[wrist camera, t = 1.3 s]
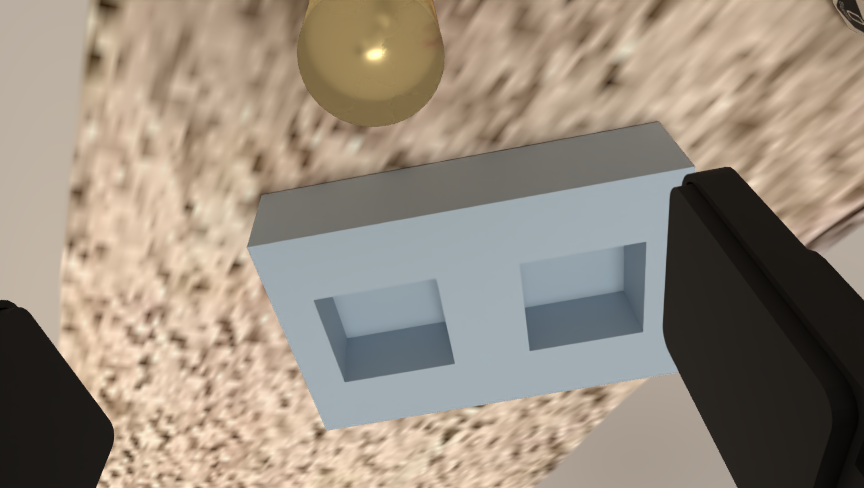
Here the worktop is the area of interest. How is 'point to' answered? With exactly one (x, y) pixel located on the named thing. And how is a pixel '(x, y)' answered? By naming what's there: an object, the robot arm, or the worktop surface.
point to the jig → (475, 275)
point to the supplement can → (852, 13)
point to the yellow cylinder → (371, 58)
